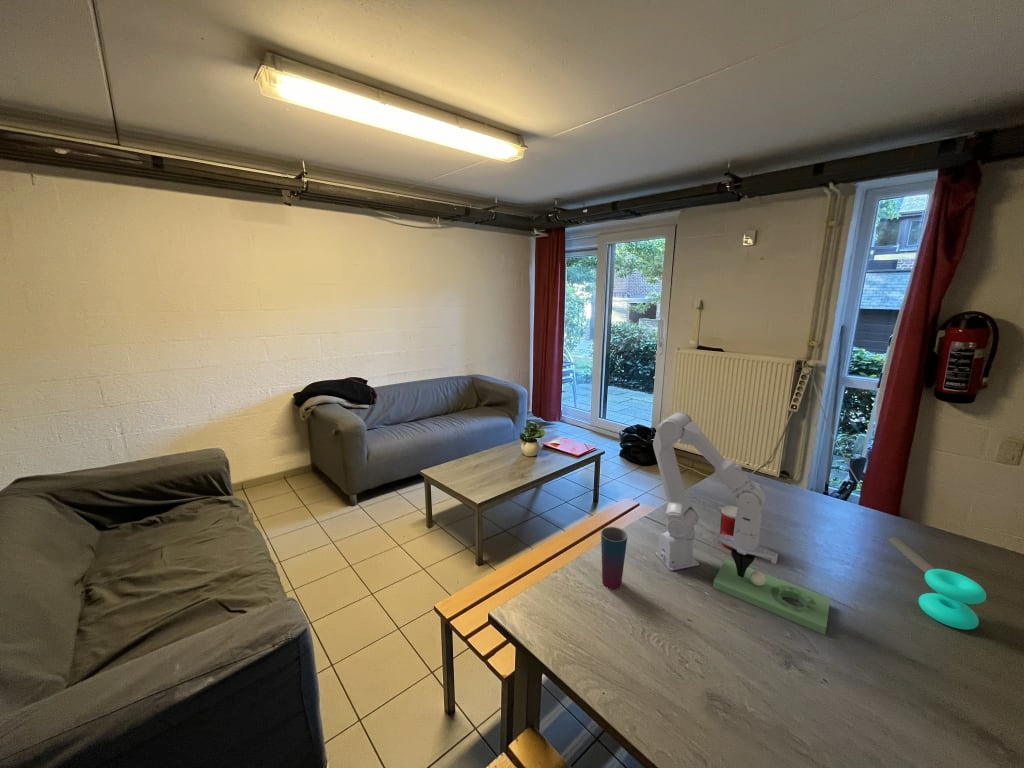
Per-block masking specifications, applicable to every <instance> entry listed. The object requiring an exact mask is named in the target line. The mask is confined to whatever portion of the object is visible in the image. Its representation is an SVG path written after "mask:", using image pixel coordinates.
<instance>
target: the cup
mask: <svg viewBox="0 0 1024 768" xmlns="http://www.w3.org/2000/svg"><path fill="white" fill-rule="evenodd" d="M600 535H601V536H600V537H601V538H600V540H601V541H600V542H601V546H600V547H601V582H602V583H601V584H602V585H603V586H604V587H605V588H607V587H608V588H607V589H609V588H611V589H610V590H618V589H620V588H621V587H620V586H622V580H623V573H624V564H625V560H626V559H625V558H626V550H627V545H628V543H627V542H628V533H627V532H626V531H625V530H624V529H622V528H620V527H616V526H607V527H605V528H603V529H601V531H600ZM617 588H618V589H617Z"/></svg>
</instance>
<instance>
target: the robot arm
mask: <svg viewBox="0 0 1024 768" xmlns="http://www.w3.org/2000/svg"><path fill="white" fill-rule="evenodd" d="M655 431H656V432H655V435H654V437H653V442H652V446H653V447H652V448H653V451H654V455H655V458H656V462H657V466H658V470H659V474H660V478H661V481H662V486H663V488H664V493H665V496H666V500H667V506H666V511H665V515H666V522H665V523H666V524H665V526H666V530H667V531H665V532H663V533H661V534H660V535H659V536H658V539H657V551H656V552H655V556H656V557H658V559H660V561H661V562H662V563H663V564H664V565H665V566H666V567H667V568H668V569H669V570H670V571H676V570H681V569H685V568H687V569H688V568H692V567H693V568H694V567H697V566H700V563H699V562H698V561H697V560H696V559H695V558H694V548H695V538H696V531H695V528H694V526H695V525H697V524H698V522H699V519H700V518H699V514H698V512H697V511H696V509H695V508H694V507H693V503H692V501H690V500H689V499H688V497H687V495H686V491H685V486H684V483H683V482H684V481H683V478H682V476H681V472H680V467H679V464H678V463H679V462H678V460H677V456H676V453H675V452H676V451H675V448H674V446H675V445H676V443H677V442H678V441H679V440H680V441H679V444H682V445H691V446H693V447H694V448H695V450H696V451H698V452H699V453H700V454H701V456H702V457H704V458H705V460H706V461H708V462H709V463H710V464H711V465H712V467H713V468H714V475H715V476H716V478H717V479H719V481H720V482H721V483H722V484H723V485H724V486H725V488H726V489H728V491H729V492H730V494H732V495H733V496H735V498H734V499H735V500H734V501H735V504H736V507H738V508H737V511H736V519H735V527H734V535H733V536H728V535H723V534H720V532H715V534H714V536H713V537H714V538H713V543H716V544H719V543H720V544H721V543H722V544H725V545H728V546H730V547H732V549H731V550H730V551H731V552H730V553H731V556H732V557H731V558H732V559H733V562H735V564H736V568H737V575H738V576H740V577H742V578H743V577H744V575H745V571H746V569H747V568H749V566H751V564H753V562H754V560H755V558H756V557H759V558H760V559H761V558H762V559H764V560H767V561H770V563H771V564H776V563H777V561H778V556H779V553H777V552H774V551H773V550H770V549H769V548H766V547H764V546H762V545H760V544H759V539H760V533H761V526H762V525H761V524H762V518H763V517H762V514H763V505H764V503H765V500H766V496H767V493H766V491H765V489H764V487H763V486H762V485H761V484H759V483H757V482H754V480H751V479H750V478H749V477H748V476H747V474H745V472H743V470H742V466H741V464H739V463H738V464H737V463H735V462H734V461H733V460H728V459H726V458H725V457H724V456H723V455H722V454H721V452H720V451H719V450H718V448H716V447H715V445H714V444H713V443H712V441H711V440H710V439H709V438H708V437H707V436H706V434H705V433H704V432H703V431H702V429H701V427H700V426H699V424H698V423H697V422H696V421H695V420H694V419H692V417H691V416H690V414H688V413H687V412H684V411H676V412H674V413H673V414H672V415H670V416H669V417H667V418H664V419H663V420H662V421H661V422H659V424H658V425H657V426H656V428H655ZM722 544H721V545H722Z"/></svg>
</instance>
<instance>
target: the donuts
mask: <svg viewBox="0 0 1024 768" xmlns="http://www.w3.org/2000/svg"><path fill="white" fill-rule="evenodd" d="M924 581H925V582H926V584H927V586H929V587H930V588H931V589H932V590H933V591H935V592H936V593H935V592H927V593H924V594H921V595H920V596H919V598H918V605H919V607H920V608H921V610H922V611H923V612H924V613H925V614H926V615H927V616H929V617H930V618H932V619H933V620H935V621H937V622H940V623H941V624H943V625H946V626H948V627H951V628H955V629H959V630H966V631H967V630H974V629H976V628H977V627H978V626H979V625H980V624H979V623H980V620H979V617H978V615H977V614H976V613H975V611H974V610H973V609H971V607H969V606H968V605H966V604H969V605H974V604H975V605H977V604H982V603H983V602H984V601H986V599H987V592H986V591H985V589H984V588H983V587H982V586H981V585H980V584H979V583H977V581H975V580H973V579H971V578H969V577H967V576H965V575H963V574H960V573H958V572H955V571H952V570H947V569H943V568H942V569H941V568H935V569H931V570H928V571H927V572H926V573H924Z"/></svg>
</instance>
